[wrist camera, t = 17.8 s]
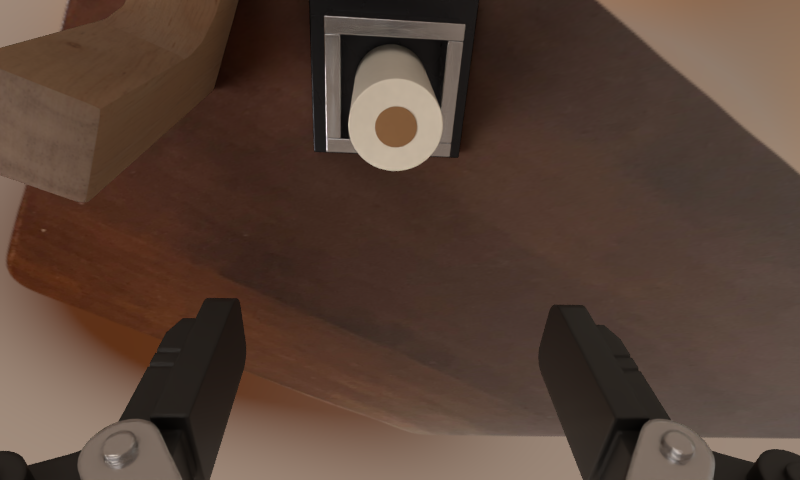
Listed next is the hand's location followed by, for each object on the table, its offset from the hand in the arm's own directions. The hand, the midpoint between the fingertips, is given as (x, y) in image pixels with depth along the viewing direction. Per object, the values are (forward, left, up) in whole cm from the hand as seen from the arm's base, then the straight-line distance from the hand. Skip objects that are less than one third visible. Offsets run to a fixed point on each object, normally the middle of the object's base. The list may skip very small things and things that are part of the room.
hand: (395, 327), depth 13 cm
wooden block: (-4, -12, -26) cm, 29 cm away
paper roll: (0, +1, -25) cm, 25 cm away
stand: (0, +1, -26) cm, 26 cm away
